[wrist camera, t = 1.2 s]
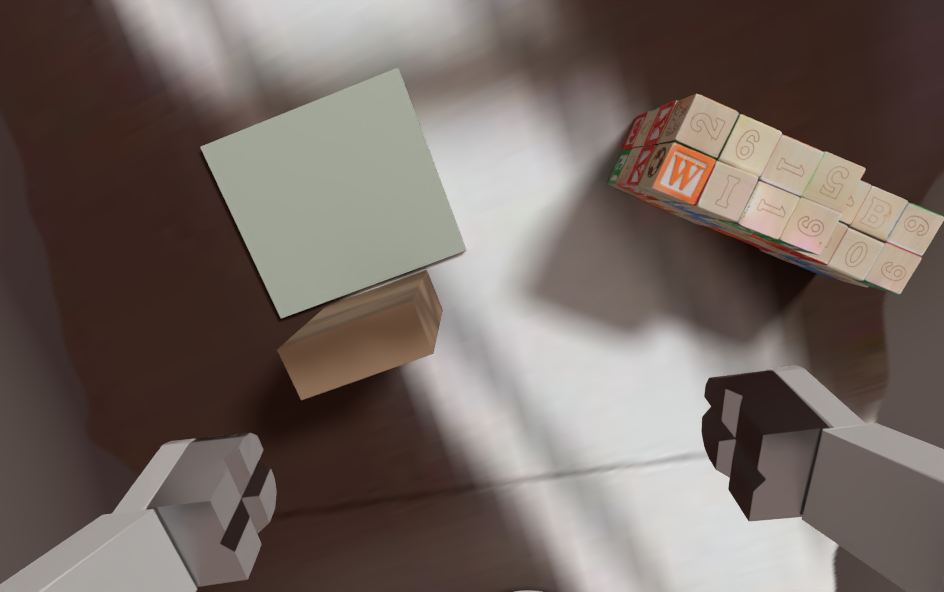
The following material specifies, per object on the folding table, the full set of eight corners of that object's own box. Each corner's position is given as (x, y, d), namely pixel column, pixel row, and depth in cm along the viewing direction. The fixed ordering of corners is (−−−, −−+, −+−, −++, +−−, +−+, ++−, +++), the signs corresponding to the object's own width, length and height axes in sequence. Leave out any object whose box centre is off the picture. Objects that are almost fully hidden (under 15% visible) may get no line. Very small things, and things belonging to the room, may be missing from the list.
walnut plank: (442, 310, 47) (433, 353, 35) (342, 345, 48) (301, 400, 36) (426, 269, 46) (411, 300, 34) (325, 306, 47) (277, 349, 35)
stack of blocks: (852, 210, 45) (991, 221, 33) (816, 274, 46) (936, 308, 34) (634, 114, 43) (697, 90, 31) (603, 184, 45) (651, 187, 33)
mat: (466, 249, 46) (466, 250, 45) (283, 316, 47) (280, 318, 47) (399, 69, 42) (397, 67, 42) (203, 147, 44) (200, 146, 43)
